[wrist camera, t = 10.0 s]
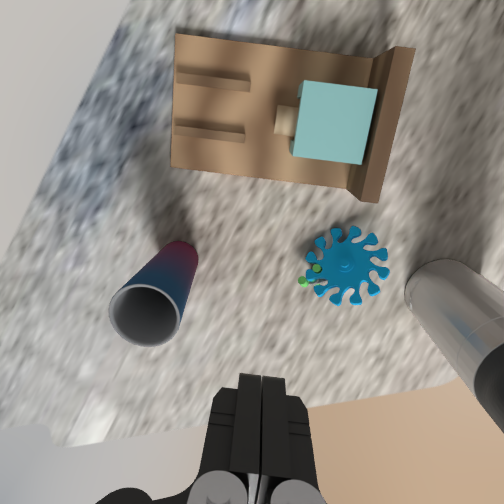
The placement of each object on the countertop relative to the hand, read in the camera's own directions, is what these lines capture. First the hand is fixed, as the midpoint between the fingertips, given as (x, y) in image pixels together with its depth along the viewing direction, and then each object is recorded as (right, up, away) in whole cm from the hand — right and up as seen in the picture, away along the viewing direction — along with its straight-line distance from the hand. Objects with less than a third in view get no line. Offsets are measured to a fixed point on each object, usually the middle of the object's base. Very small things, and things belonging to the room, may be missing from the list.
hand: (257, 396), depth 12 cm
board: (+2, +20, +29) cm, 36 cm away
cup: (-10, +4, +36) cm, 38 cm away
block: (+8, +19, +29) cm, 36 cm away
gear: (+11, +4, +35) cm, 37 cm away
